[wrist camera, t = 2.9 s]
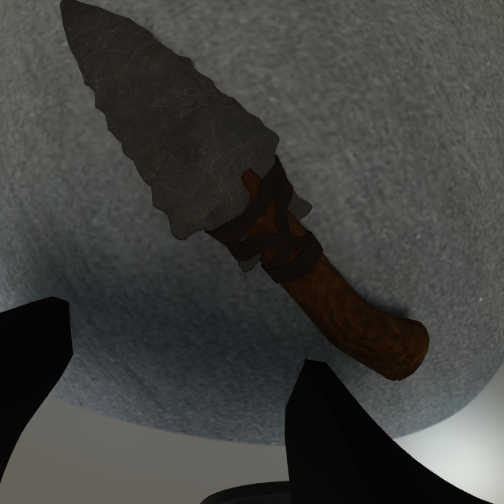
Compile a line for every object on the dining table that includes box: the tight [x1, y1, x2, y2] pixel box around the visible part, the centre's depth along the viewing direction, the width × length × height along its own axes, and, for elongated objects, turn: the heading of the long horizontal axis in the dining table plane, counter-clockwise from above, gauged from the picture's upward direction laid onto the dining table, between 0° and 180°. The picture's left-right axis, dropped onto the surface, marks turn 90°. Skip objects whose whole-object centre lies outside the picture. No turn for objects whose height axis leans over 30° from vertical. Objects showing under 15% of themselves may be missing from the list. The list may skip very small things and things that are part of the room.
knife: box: [60, 0, 429, 381], centre depth 7 cm, size 17×2×5 cm
